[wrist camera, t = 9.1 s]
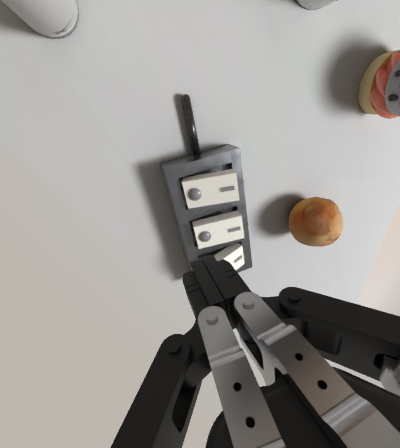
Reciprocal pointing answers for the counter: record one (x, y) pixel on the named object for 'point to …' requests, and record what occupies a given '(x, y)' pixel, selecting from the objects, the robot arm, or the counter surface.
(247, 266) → the power strip
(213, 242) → the rocker middle
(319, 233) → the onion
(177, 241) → the counter surface
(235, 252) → the rocker
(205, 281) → the robot arm
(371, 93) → the cake
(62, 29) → the travel mug
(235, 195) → the rocker
